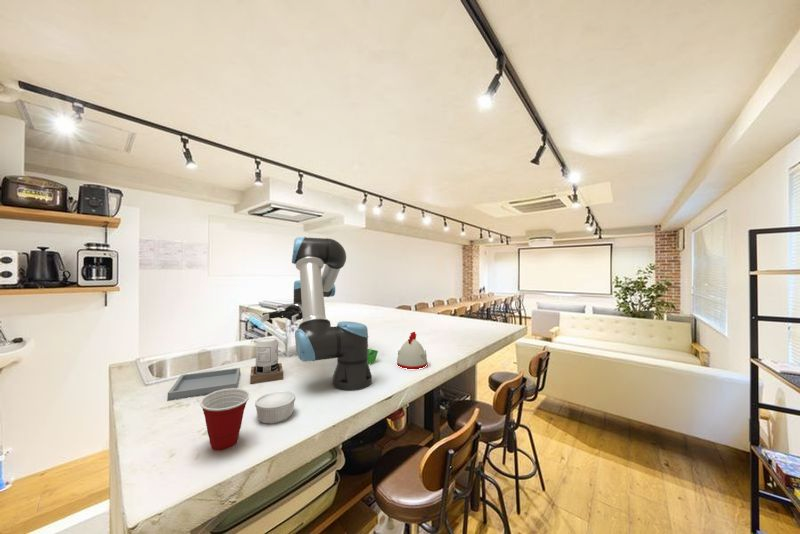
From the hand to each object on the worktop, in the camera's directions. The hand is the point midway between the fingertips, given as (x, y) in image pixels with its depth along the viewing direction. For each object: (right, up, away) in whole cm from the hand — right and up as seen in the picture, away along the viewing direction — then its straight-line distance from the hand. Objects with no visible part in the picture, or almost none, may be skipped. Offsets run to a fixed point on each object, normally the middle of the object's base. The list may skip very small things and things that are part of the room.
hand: (277, 319), depth 127 cm
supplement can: (0, -22, -10) cm, 24 cm away
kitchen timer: (+60, -22, +6) cm, 64 cm away
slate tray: (-18, -21, -19) cm, 34 cm away
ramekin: (+17, -22, -41) cm, 49 cm away
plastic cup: (+10, -22, -55) cm, 60 cm away
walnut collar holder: (0, -21, -10) cm, 24 cm away
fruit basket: (+37, -22, +10) cm, 44 cm away
